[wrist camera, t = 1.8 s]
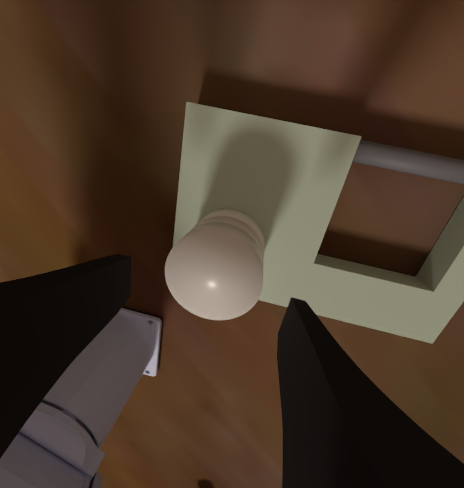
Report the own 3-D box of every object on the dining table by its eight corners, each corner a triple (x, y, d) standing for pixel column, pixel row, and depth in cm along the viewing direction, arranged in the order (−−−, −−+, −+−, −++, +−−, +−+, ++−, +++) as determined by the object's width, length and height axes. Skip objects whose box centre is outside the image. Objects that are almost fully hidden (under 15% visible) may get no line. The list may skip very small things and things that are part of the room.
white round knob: (190, 265, 17) (161, 306, 12) (199, 200, 15) (168, 221, 10) (255, 281, 17) (250, 330, 12) (272, 217, 15) (274, 246, 10)
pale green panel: (179, 265, 20) (169, 277, 18) (196, 108, 15) (186, 101, 13) (415, 324, 18) (432, 343, 16) (517, 171, 14) (556, 174, 12)
